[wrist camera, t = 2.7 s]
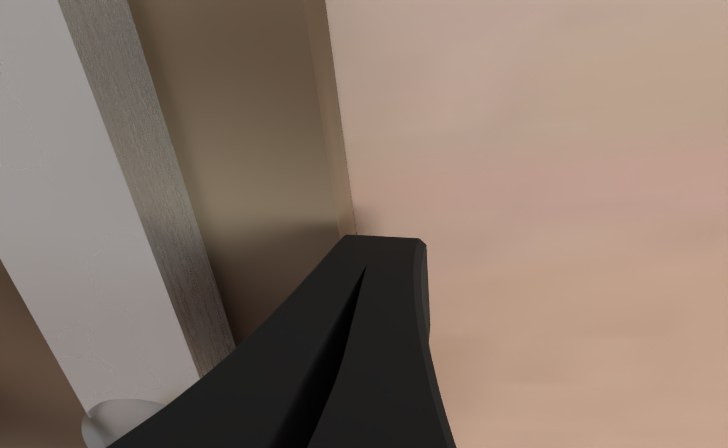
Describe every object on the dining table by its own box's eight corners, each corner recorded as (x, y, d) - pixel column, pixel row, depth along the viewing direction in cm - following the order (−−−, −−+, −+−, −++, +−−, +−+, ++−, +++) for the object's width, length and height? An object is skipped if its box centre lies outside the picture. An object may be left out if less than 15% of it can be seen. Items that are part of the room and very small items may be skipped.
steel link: (292, 467, 15) (258, 568, 14) (145, 447, 16) (94, 538, 14) (119, -144, 8) (-13, -110, 6) (-138, -119, 9) (-322, -83, 7)
